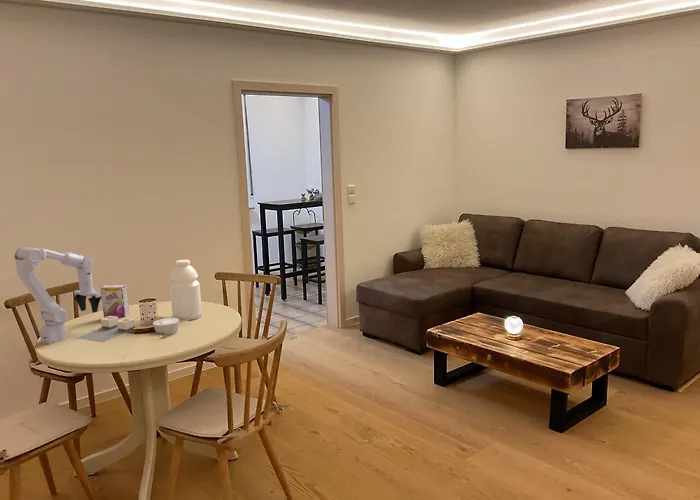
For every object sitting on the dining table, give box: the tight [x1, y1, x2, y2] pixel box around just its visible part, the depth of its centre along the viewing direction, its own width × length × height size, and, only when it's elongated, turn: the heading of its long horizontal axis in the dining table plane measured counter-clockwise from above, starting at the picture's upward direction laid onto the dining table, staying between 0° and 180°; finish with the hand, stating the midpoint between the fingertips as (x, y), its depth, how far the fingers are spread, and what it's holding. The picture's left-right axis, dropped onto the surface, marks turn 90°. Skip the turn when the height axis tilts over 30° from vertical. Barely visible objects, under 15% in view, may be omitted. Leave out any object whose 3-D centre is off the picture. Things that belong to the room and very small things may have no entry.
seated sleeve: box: [117, 317, 136, 333], centre depth 256 cm, size 5×5×4 cm
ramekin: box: [152, 317, 180, 337], centre depth 256 cm, size 11×11×5 cm
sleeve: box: [100, 316, 119, 330], centre depth 261 cm, size 5×5×4 cm
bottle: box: [169, 259, 203, 321], centre depth 276 cm, size 14×14×28 cm
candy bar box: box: [100, 284, 131, 318], centre depth 278 cm, size 11×5×16 cm, turn 84°
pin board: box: [76, 327, 133, 343], centre depth 253 cm, size 20×16×4 cm
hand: (89, 311), depth 260 cm, fingers open, 7 cm apart
